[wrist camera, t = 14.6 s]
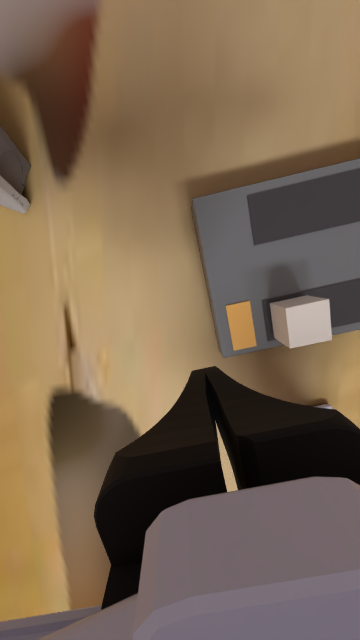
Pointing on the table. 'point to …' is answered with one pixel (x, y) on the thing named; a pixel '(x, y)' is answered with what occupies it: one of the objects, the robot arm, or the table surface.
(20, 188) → the electrical switch
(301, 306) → the tab
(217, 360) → the table surface
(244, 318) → the switch board
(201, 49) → the table surface
